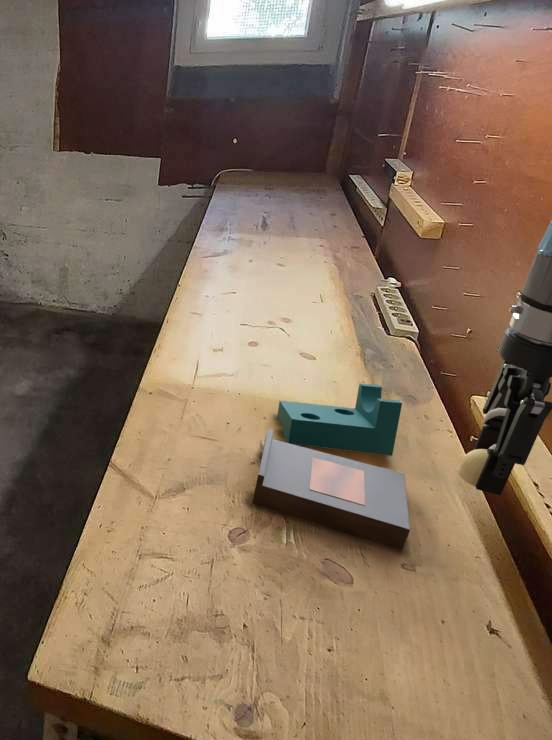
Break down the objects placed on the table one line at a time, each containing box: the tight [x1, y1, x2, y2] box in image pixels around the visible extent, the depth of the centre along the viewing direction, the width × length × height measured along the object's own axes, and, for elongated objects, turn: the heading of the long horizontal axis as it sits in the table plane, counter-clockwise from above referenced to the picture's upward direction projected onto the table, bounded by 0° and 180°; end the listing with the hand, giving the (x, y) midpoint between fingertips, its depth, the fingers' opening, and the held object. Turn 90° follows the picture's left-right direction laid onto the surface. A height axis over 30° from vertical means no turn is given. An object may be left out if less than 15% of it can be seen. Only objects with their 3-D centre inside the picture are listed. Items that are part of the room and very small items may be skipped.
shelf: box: [251, 428, 411, 551], centre depth 96 cm, size 22×14×6 cm, turn 61°
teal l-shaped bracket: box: [276, 383, 403, 457], centre depth 111 cm, size 18×11×10 cm, turn 76°
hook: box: [457, 408, 507, 488], centre depth 78 cm, size 6×5×12 cm
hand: (484, 477), depth 81 cm, fingers closed on hook, 5 cm apart
